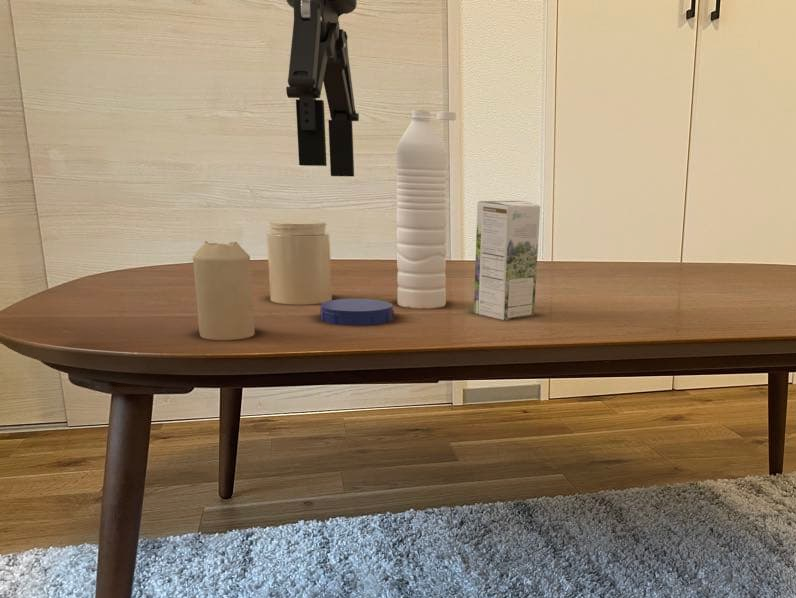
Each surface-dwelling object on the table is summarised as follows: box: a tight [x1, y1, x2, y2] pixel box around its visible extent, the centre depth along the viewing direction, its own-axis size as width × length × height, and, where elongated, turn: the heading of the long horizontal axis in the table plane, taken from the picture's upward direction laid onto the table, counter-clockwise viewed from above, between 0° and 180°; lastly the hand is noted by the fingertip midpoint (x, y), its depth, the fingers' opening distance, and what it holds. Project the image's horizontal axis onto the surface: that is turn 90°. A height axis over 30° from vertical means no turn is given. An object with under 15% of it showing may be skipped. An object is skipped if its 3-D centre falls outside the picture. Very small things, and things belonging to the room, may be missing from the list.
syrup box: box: [473, 200, 541, 321], centre depth 99 cm, size 6×6×14 cm
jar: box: [265, 218, 333, 305], centre depth 104 cm, size 8×8×10 cm
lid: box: [320, 298, 394, 327], centre depth 94 cm, size 8×8×2 cm
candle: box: [192, 240, 256, 341], centre depth 82 cm, size 6×6×10 cm
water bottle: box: [395, 109, 457, 310], centre depth 103 cm, size 9×6×25 cm
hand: (328, 171), depth 89 cm, fingers open, 13 cm apart
